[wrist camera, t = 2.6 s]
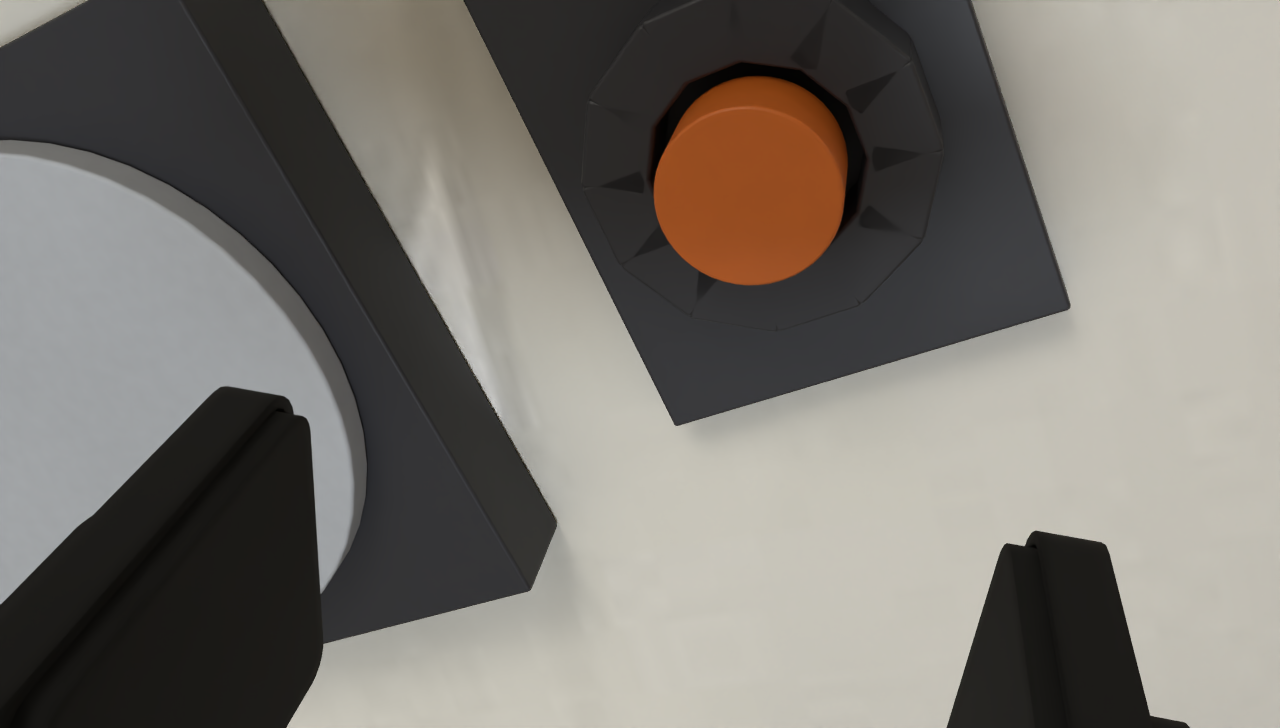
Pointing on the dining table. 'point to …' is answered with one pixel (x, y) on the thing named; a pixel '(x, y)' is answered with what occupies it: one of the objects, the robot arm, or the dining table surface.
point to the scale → (231, 309)
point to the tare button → (752, 181)
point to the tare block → (874, 197)
